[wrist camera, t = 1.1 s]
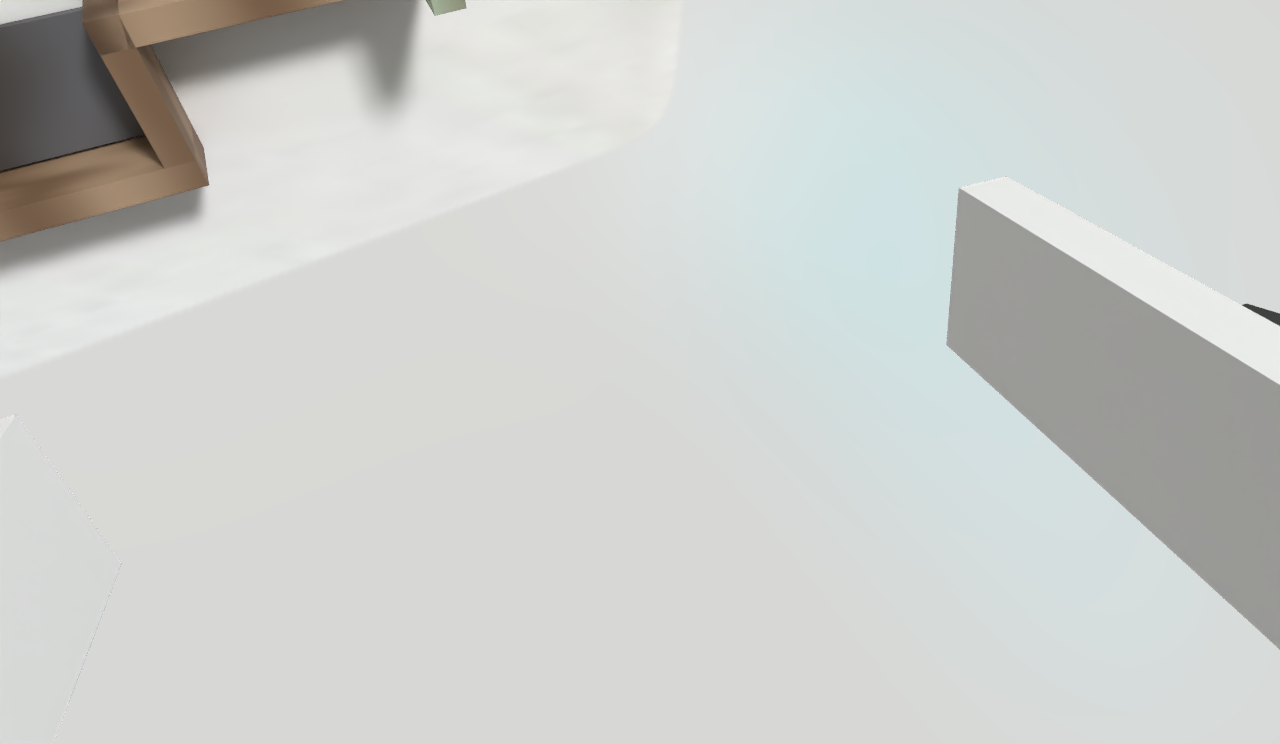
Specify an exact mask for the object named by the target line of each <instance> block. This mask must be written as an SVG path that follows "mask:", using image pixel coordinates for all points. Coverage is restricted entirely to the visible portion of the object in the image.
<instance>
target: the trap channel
mask: <svg viewBox="0 0 1280 744" xmlns="http://www.w3.org/2000/svg"><path fill="white" fill-rule="evenodd" d="M337 1H342V0H83V7H80V8H75V9H70V10H66V11H61V12H56V13H52V14H47V15H43V16H38V17H33V18H29V19H24V20H19V21H15V22H10V23H6V24H1V25H0V171H1V170H5V169H9V168H13V167H17V166H21V165H25V164H29V163H33V162H37V161H41V160H45V159H49V158H53V157H57V156H61V155H65V154H69V153H73V152H77V151H80V150H84V149H88V148H92V147H96V146H100V145H104V144H108V143H112V142H116V141H120V140H124V139H128V138H132V137H136V136H140V135H144V134H145V135H144V136H140V137H136V138H132V139H128V140H124V141H120V142H117V143H113V144H109V145H105V146H101V147H97V148H93V149H89V150H85V151H81V152H77V153H73V154H69V155H65V156H61V157H57V158H53V159H49V160H45V161H41V162H37V163H33V164H29V165H25V166H21V167H18V168H14V169H10V170H6V171H2V172H0V241H4V240H8V239H11V238H15V237H19V236H22V235H26V234H30V233H34V232H37V231H41V230H45V229H48V228H52V227H56V226H60V225H63V224H67V223H71V222H74V221H78V220H82V219H85V218H89V217H93V216H97V215H100V214H104V213H108V212H111V211H115V210H119V209H123V208H126V207H130V206H134V205H137V204H141V203H145V202H148V201H152V200H156V199H160V198H163V197H167V196H171V195H174V194H178V193H182V192H186V191H189V190H193V189H197V188H200V187H204V186H208V185H209V182H208V175H207V168H206V161H205V154H204V148H203V146H202V144H201V142H200V140H199V138H198V136H197V134H196V132H195V130H194V128H193V126H192V124H191V122H190V121H189V119H188V117H187V115H186V113H185V111H184V109H183V107H182V105H181V103H180V101H179V99H178V97H177V95H176V93H175V91H174V90H173V88H172V86H171V84H170V82H169V80H168V78H167V76H166V74H165V72H164V70H163V68H162V66H161V64H160V62H159V60H158V59H157V57H156V55H155V53H154V51H153V49H152V47H151V45H150V44H154V43H159V42H163V41H167V40H172V39H176V38H180V37H185V36H189V35H193V34H198V33H202V32H207V31H211V30H215V29H220V28H224V27H228V26H233V25H237V24H241V23H246V22H250V21H254V20H259V19H263V18H268V17H272V16H276V15H281V14H285V13H289V12H294V11H298V10H302V9H307V8H311V7H316V6H320V5H324V4H329V3H333V2H337ZM426 1H427V3H428V5H429V7H430V8H431V10H432V12H433V13H434V15H435V16H436V15H440V14H444V13H448V12H453V11H457V10H461V9H465V8H466V3H465V0H426Z"/></svg>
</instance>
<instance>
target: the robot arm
mask: <svg viewBox="0 0 1280 744" xmlns="http://www.w3.org/2000/svg"><path fill="white" fill-rule="evenodd" d="M947 346H948V347H949V348H951V349H952V350H953V351H954V352H955V353H956V354H957V355H958V356H959V357H960V358H962V359H963V360H964V361H965V362H966V363H967V364H968V365H970V367H971V368H972V369H974V370H975V371H976V372H977V373H978V374H979V375H980V376H981V377H982V378H983V379H984V380H986V381H987V382H988V383H989V384H990V385H991V386H992V387H993V388H994V389H995V390H997V391H998V392H999V393H1000V394H1001V395H1002V396H1003V397H1004V398H1005V399H1006V400H1008V401H1009V402H1010V403H1011V404H1012V405H1013V406H1014V407H1015V408H1016V409H1017V410H1018V411H1019V412H1021V413H1022V414H1023V415H1024V416H1025V417H1026V418H1027V419H1028V420H1030V422H1032V423H1033V424H1034V425H1035V426H1036V427H1037V428H1038V429H1039V430H1040V431H1041V432H1042V433H1044V434H1045V435H1046V436H1047V437H1048V438H1049V439H1050V440H1051V441H1052V442H1053V443H1055V444H1056V445H1057V446H1058V447H1059V448H1060V449H1061V450H1062V451H1063V452H1064V453H1065V454H1067V455H1068V456H1069V457H1070V458H1071V459H1072V460H1073V461H1074V462H1075V463H1076V464H1078V465H1079V466H1080V467H1081V468H1082V469H1083V470H1084V471H1085V472H1086V473H1088V475H1090V476H1091V477H1092V478H1093V479H1094V480H1095V481H1096V482H1097V483H1098V484H1099V485H1100V486H1102V487H1103V488H1104V489H1105V490H1106V491H1107V492H1108V493H1109V494H1110V495H1111V496H1113V497H1114V498H1115V499H1116V500H1117V501H1118V502H1119V503H1120V504H1121V505H1122V506H1123V507H1125V508H1126V509H1127V510H1128V511H1129V512H1130V513H1131V514H1132V515H1133V516H1134V517H1136V518H1137V519H1138V520H1139V521H1140V522H1141V523H1142V524H1143V525H1144V526H1145V527H1146V528H1148V529H1149V530H1150V531H1151V532H1152V533H1153V534H1154V535H1155V536H1156V537H1157V538H1159V539H1160V540H1161V541H1162V542H1163V543H1164V544H1165V545H1166V546H1167V547H1168V548H1169V549H1170V550H1172V551H1173V552H1174V553H1175V554H1176V555H1177V556H1178V557H1179V558H1180V559H1181V560H1183V561H1184V562H1185V563H1186V564H1187V565H1188V566H1189V567H1190V568H1191V569H1192V570H1193V571H1195V572H1196V573H1197V574H1198V575H1199V576H1200V577H1201V578H1202V579H1204V581H1205V582H1207V583H1208V584H1209V585H1210V586H1211V587H1212V588H1213V589H1214V590H1215V591H1216V592H1218V593H1219V594H1220V595H1221V596H1222V597H1223V598H1224V599H1225V600H1226V601H1227V602H1228V603H1230V604H1231V605H1232V606H1233V607H1234V608H1235V609H1236V610H1237V611H1238V612H1239V613H1241V614H1242V615H1243V616H1244V617H1245V618H1246V619H1247V620H1248V621H1249V622H1250V623H1251V624H1253V625H1254V626H1255V627H1256V628H1257V629H1258V630H1259V631H1260V632H1262V634H1263V635H1265V636H1266V637H1267V638H1268V639H1269V640H1270V641H1271V642H1272V643H1273V644H1275V645H1276V646H1277V647H1278V648H1279V649H1280V314H1279V313H1276V312H1272V311H1269V310H1266V309H1263V308H1259V307H1255V306H1253V305H1249V304H1244V305H1240V304H1238V303H1237V302H1234V301H1233V300H1231V299H1229V298H1227V297H1226V296H1224V295H1222V294H1220V293H1218V292H1216V291H1215V290H1213V289H1211V288H1209V287H1207V286H1206V285H1204V284H1202V283H1200V282H1198V281H1196V280H1195V279H1193V278H1191V277H1189V276H1187V275H1186V274H1184V273H1182V272H1180V271H1178V270H1176V269H1175V268H1173V267H1171V266H1169V265H1167V264H1165V263H1164V262H1162V261H1160V260H1158V259H1156V258H1154V257H1153V256H1151V255H1149V254H1147V253H1145V252H1144V251H1141V250H1140V249H1138V248H1136V247H1134V246H1133V245H1131V244H1129V243H1127V242H1125V241H1123V240H1122V239H1120V238H1118V237H1116V236H1114V235H1113V234H1111V233H1109V232H1107V231H1105V230H1103V229H1101V228H1100V227H1098V226H1096V225H1094V224H1092V223H1091V222H1089V221H1087V220H1085V219H1083V218H1082V217H1080V216H1078V215H1076V214H1074V213H1072V212H1071V211H1068V210H1067V209H1065V208H1063V207H1061V206H1060V205H1058V204H1056V203H1054V202H1052V201H1050V200H1049V199H1047V198H1045V197H1043V196H1041V195H1039V194H1038V193H1036V192H1034V191H1032V190H1030V189H1029V188H1027V187H1025V186H1023V185H1021V184H1019V183H1018V182H1016V181H1014V180H1012V179H1010V178H1009V177H1007V176H1005V177H1001V178H997V179H993V180H989V181H984V182H980V183H976V184H972V185H968V186H964V187H960V188H959V193H958V205H957V219H956V231H955V243H954V256H953V269H952V281H951V294H950V307H949V320H948V332H947ZM120 567H121V562H120V561H119V559H118V558H117V557H116V555H115V554H114V552H113V551H112V549H111V548H110V547H109V545H108V544H107V542H106V541H105V539H104V538H103V536H102V535H101V534H100V532H99V531H98V529H97V528H96V527H95V525H94V524H93V522H92V521H91V519H90V518H89V517H88V515H87V514H86V512H85V511H84V509H83V508H82V507H81V505H80V504H79V502H78V501H77V499H76V498H75V497H74V496H73V494H72V492H71V491H70V490H69V488H68V487H67V485H66V484H65V482H64V481H63V480H62V478H61V477H60V475H59V474H58V472H57V471H56V470H55V468H54V467H53V465H52V464H51V463H50V461H49V460H48V458H47V457H46V455H45V454H44V453H43V451H42V450H41V448H40V447H39V445H38V444H37V443H36V441H35V440H34V438H33V437H32V435H31V434H30V433H29V431H28V430H27V429H26V427H25V426H24V424H23V423H22V421H21V420H20V418H19V417H18V416H17V415H13V416H8V417H5V418H0V744H53V743H54V740H55V738H56V735H57V732H58V729H59V727H60V724H61V722H62V719H63V717H64V714H65V711H66V709H67V706H68V704H69V701H70V698H71V696H72V693H73V690H74V688H75V685H76V683H77V680H78V677H79V674H80V672H81V669H82V667H83V664H84V661H85V659H86V656H87V654H88V651H89V648H90V646H91V643H92V640H93V638H94V635H95V632H96V630H97V627H98V624H99V622H100V619H101V617H102V614H103V611H104V609H105V606H106V604H107V601H108V598H109V596H110V593H111V590H112V588H113V585H114V583H115V580H116V577H117V575H118V572H119V570H120Z"/></svg>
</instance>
